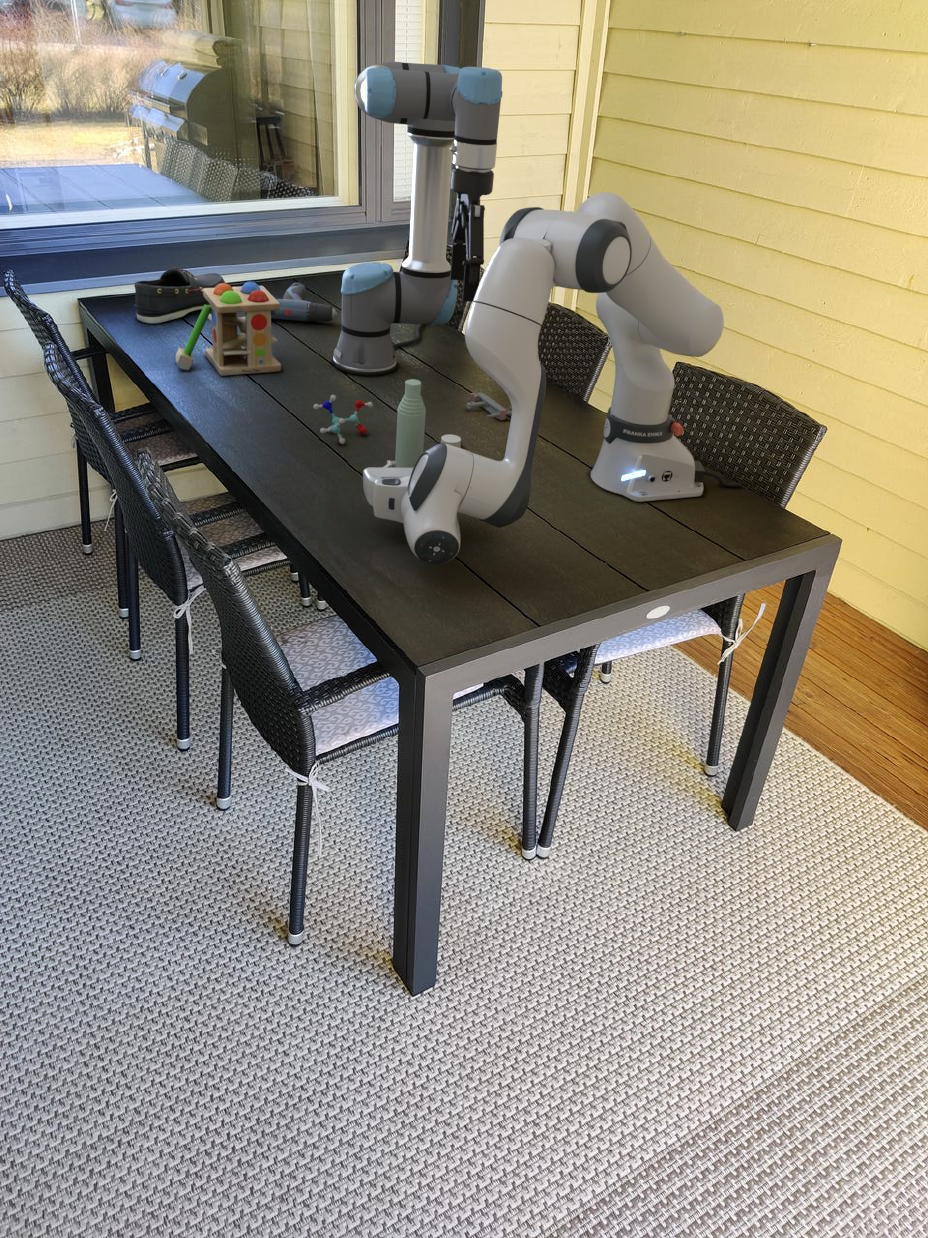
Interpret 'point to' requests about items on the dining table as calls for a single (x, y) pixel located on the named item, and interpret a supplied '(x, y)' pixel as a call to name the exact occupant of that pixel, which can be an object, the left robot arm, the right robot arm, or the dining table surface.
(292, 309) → the power drill
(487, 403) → the clamp
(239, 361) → the pounding bench toy
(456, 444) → the cap
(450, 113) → the left robot arm
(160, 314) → the boat shoe
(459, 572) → the dining table surface
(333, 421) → the molecular model
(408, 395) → the bottle
